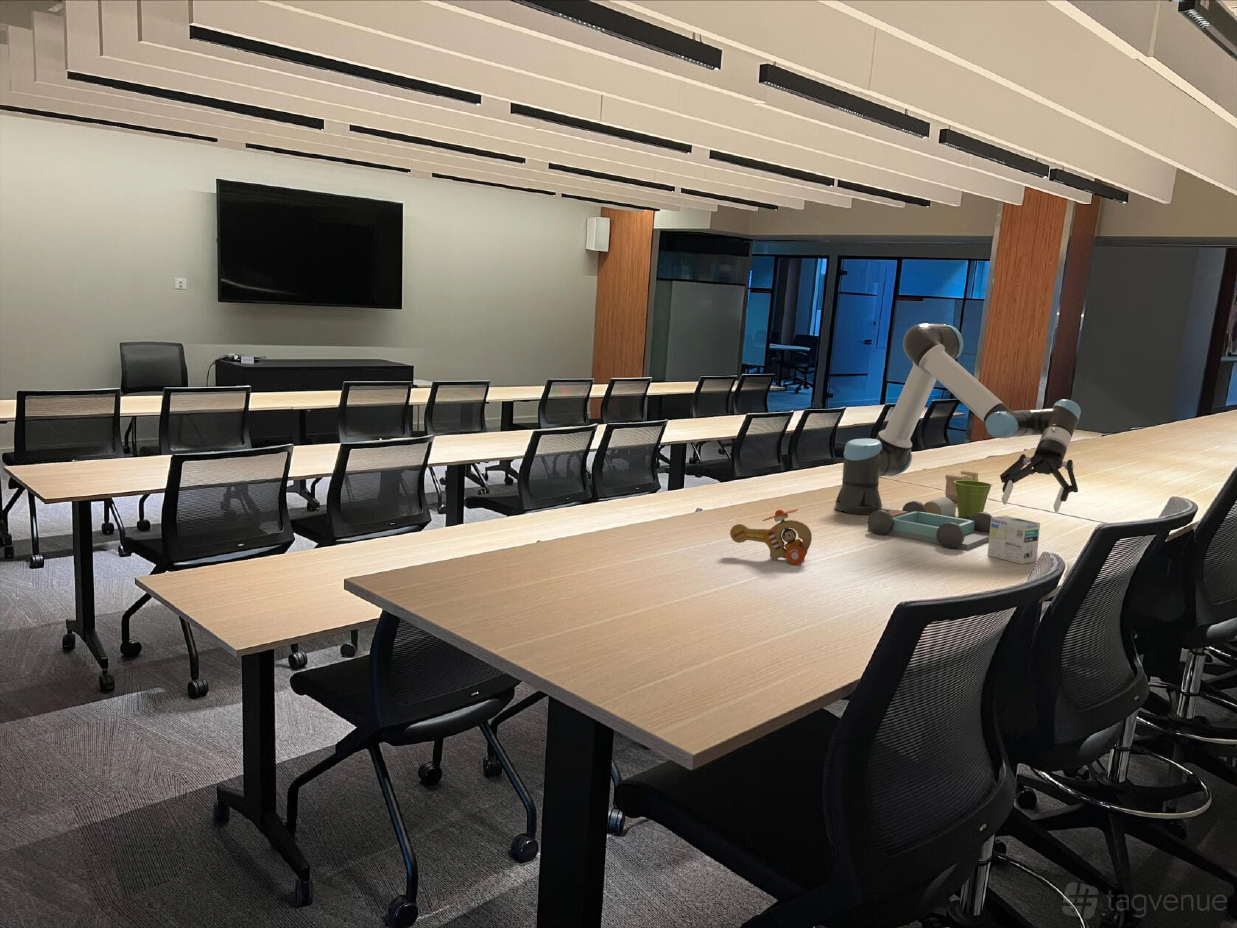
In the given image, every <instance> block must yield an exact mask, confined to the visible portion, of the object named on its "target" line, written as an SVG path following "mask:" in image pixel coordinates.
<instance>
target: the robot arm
mask: <svg viewBox="0 0 1237 928" xmlns="http://www.w3.org/2000/svg"><path fill="white" fill-rule="evenodd" d="M902 348H903V351H904V353H905V355H906V357H907V358H908V359H910V361H911V362H912V364H913V365H912V368H911V370H910V372H909V374H908V376H907V379H906V381H905V384H904V385H903V388H902V391H901V392H900V394H899V397H898V399H897V402H896V404H895V406H894V409H893V411H892V413H891V415H890V417H889V420H888V423H886V427H885V429H883V430H880V431H879V432H878V433H877V436H876V438H855V439H851V440H848V441H847V442H846V443H845V446H844V451H843V466H842V467H843V469H842V478H841V479H842V482H841V487H840V490H839V492H838V495H837V497H836V500H835V502H834V509H835V510H836V509H838V510H837V511H839V512H842V511H844V512H843V513H846V512H847V513H848V514H855V515H870V514H871V513H873V512H875V511H878V510H883V502H882V499H881V494H880V491H879V490H880V489H879V483H880V478H881V477H882V478H883V477H893V476H897V475H899V474H902V473H904V472H905V471H906V470H908V468H909V467H910V465H911V464H912V460H913V454H912V447H913V442H912V441H911V437H912V436H913V434H914V431H915V429H916V426H917V424H918V422H919V420H920V418H921V416H922V413H923V411H924V409H925V406H926V404H927V402H928V399H929V398H930V395H931V393H932V392H933V389H934V386H935V385H936V382H937V381H938V382H939V383H940V384H941V385H942V386H943V387H945V389H947V390H948V391H949V392H950V393H951V394H952V395H954V397H956V398H957V399H958V400H959V401H960V402H961V403H962V404H963V405H964V406H966V407H967V408H968V409H969V410H970V411H972V413H973V414H974V415H976V417H978V418H979V419H980V420H981V421H982V422H983V423H984V424H985V429H986V431H987V433H988V434H989V435H990V436H992V437H993V438H996V439H1009V438H1018V437H1028V436H1031V437H1032V436H1040V439H1039V441H1038V442H1037V443H1038V444H1037V446H1036V449H1035V451H1034V454H1033V455H1032V456H1031V457H1029V456H1026V454H1025V453H1024V454H1023V453H1022V454H1021V455H1020V456H1019V458H1018V459H1017V460H1016V461H1015V462H1014V463H1013V464H1012V465H1010V467H1008V468H1007V469H1006V470H1004V472H1002V473H1001V474H1000V475H999V478H1000V481H1001V483H1002V484H1003V486H1002V487H1001V489H1002V493H1003V494H1002V496H1001V501H1002V504H1003V505H1005V506H1006V505H1007V503H1008V501H1009V498H1010V496H1011V494H1012V491H1013V489H1014V484H1016V483H1018V481H1021V480H1023V479H1024V478H1026V477H1028V476H1030V475H1034V474H1039V475H1040V474H1041V475H1042V474H1044V475H1048V476H1049V475H1050V474H1052V475H1053V477H1054V478H1055V480H1057V482H1058V483H1059V485H1060V486H1061V487H1060V488H1059V489H1058V494H1057V495H1056V498H1055V501H1054V504H1053V510H1054V512H1055V513H1059V510H1060V508H1061V505H1062V503H1063V502H1064V503H1065V502H1067V500H1068V497H1069V495H1070V494H1071V493H1078V492H1079V488H1078V485H1077V480H1076V478H1075V474H1074V462H1073V460H1072V459H1068V460H1067V461H1064V458H1065V456H1066V453H1067V451H1068V449H1069V446H1070V443H1071V441H1072V438H1073V435H1074V432H1075V430H1076V428H1077V426H1078V424H1079V422H1080V421H1079V420H1080V417H1081V413H1082V410H1081V407H1080V406H1079V404H1078V403H1076V402H1075V401H1073V400H1070V399H1060V400H1057V401H1056V402H1055V403H1054V404H1053V405H1052V408H1043V409H1028V410H1027V409H1026V410H1025V409H1020V410H1011V408H1010V407H1008V406H1007V405H1006V404H1005V403H1004V402H1003V401H1002V400H1001V399H999V398H998V397H997V396H996V395H995V394H993V392H992V391H991V390H989V389H988V388H987V387H986V386H985V385H984V384H982V383H981V382H980V381H979V380H978V379H977V378H976V377H975V376H973V375H972V374H971V373H970V372H968V370H967V369H965V367H963V366H962V365H961V364H960V363H959V362H957V359H958V358H959V357H960V355H961V354H962V352H963V349H964V340H963V336H962V334H961V332H960V331H959V330H958V329H957V327H955V326H953V325H950V324H949V325H948V324H945V323H927V322H926V323H917V324H915V325H913V326H912V327H910V328H908V330H907V331H906V332H905V334H904V336H903V341H902ZM1062 467H1064V469H1065V470H1066V471H1067V474H1068V478H1069V480H1070V481H1069V482H1070V485H1069V483H1068V481H1066V479H1065V478H1064V476H1063V475H1062V473H1061V472H1060V469H1061V468H1062Z"/></svg>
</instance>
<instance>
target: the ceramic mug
mask: <svg viewBox="0 0 1237 928" xmlns="http://www.w3.org/2000/svg"><path fill="white" fill-rule="evenodd" d="M954 503H955V502H952V501H951V500H950V499H949V498H946V496H944V497H938V498H934V499H930V500H928V501H926V502H925V503H923V504H924V506H925V507H926V510H927V513H931V514H937V515H943V516H948V517H954V518H958V516H956V512H957V511H956V505H955V504H954Z"/></svg>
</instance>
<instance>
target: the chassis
mask: <svg viewBox="0 0 1237 928" xmlns="http://www.w3.org/2000/svg"><path fill="white" fill-rule="evenodd" d="M924 504H925V503H923V502H921V501H918V500H911V501H908V502H906V503H905V504H904V505H903V506H902V509H901V510H900V509H894V510H889V511H888V510H885V509H882V510H878V511H875V512H873V513H871V514H868V515H869V516H868V517H867V532H872V533H873V534H875V535H879V536H880V535H888V536H895V537H899V538H903V539H910V540H912V541H913V540H915V541H919V542H925V543H929V544H934V545H939V546H942V547H943V548H945V549H954V548H956V549H961V550H966V551H968V550H971V549H973V548H976V547H978V546H980V545H983V544H986V543H989V534H990V523H991V517H993V516H992V514H990V513H988V512H985V511H983V512H979V513H976V514H974V515H972V516H971V517H970V518H969V519H965V518H961V517H960V518H959V517H957V518H954V517H948V516H943V515H937V514H931V513H927V510H926V507H925V506H924Z"/></svg>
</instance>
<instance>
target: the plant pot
mask: <svg viewBox="0 0 1237 928" xmlns="http://www.w3.org/2000/svg"><path fill="white" fill-rule="evenodd" d="M954 483H955V486H956V491H957V502H956V504H957V515H958V516H959V517H960V518H969V519H970V517H971V516H972V515H974V514H976V513H979V512H985V507H986V502H987V499H988V495H989V494H990V490H991V487H993V485H994V484H992V483H990V482H985V481H979V480H978V481H968V480H958V481H954Z"/></svg>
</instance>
